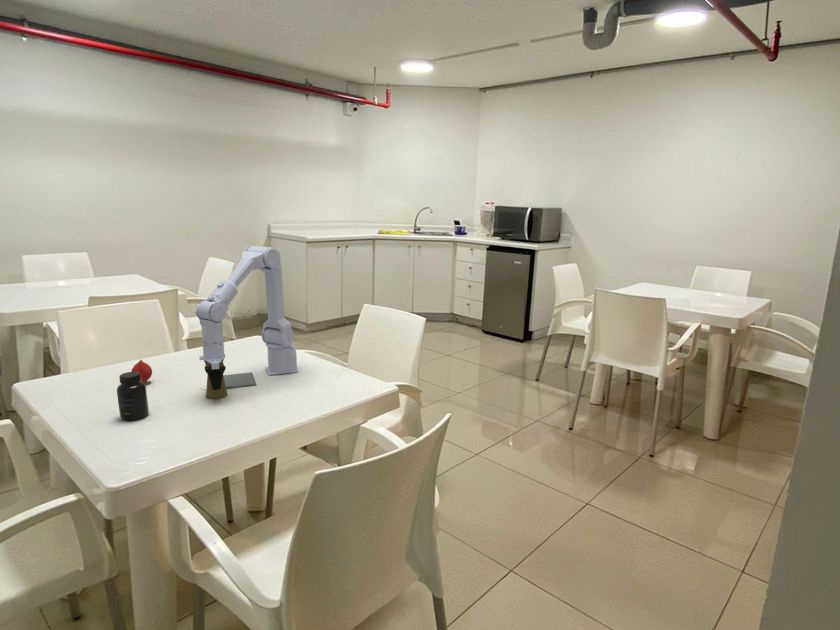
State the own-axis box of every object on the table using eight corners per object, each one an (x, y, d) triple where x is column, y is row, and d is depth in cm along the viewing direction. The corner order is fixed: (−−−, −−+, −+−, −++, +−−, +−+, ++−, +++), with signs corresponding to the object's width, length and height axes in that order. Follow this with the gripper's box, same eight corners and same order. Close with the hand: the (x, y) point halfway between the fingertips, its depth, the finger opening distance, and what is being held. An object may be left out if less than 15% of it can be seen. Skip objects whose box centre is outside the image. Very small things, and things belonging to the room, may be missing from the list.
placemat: (252, 373, 172) (252, 372, 172) (256, 385, 162) (256, 383, 162) (214, 377, 168) (214, 376, 167) (215, 390, 157) (215, 388, 157)
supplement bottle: (129, 410, 140) (125, 369, 138) (154, 411, 140) (150, 370, 138) (114, 421, 134) (109, 378, 131) (139, 422, 133) (135, 379, 131)
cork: (222, 400, 149) (220, 364, 147) (202, 399, 150) (199, 363, 147) (230, 392, 155) (228, 358, 153) (211, 392, 155) (208, 357, 153)
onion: (128, 385, 159) (125, 360, 158) (143, 379, 165) (141, 355, 163) (141, 388, 157) (139, 363, 156) (157, 382, 162) (154, 358, 161)
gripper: (197, 336, 154) (200, 378, 157) (198, 349, 141) (202, 395, 144) (222, 334, 156) (225, 376, 159) (225, 346, 143) (228, 392, 146)
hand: (216, 385), depth 152 cm, fingers open, 7 cm apart
